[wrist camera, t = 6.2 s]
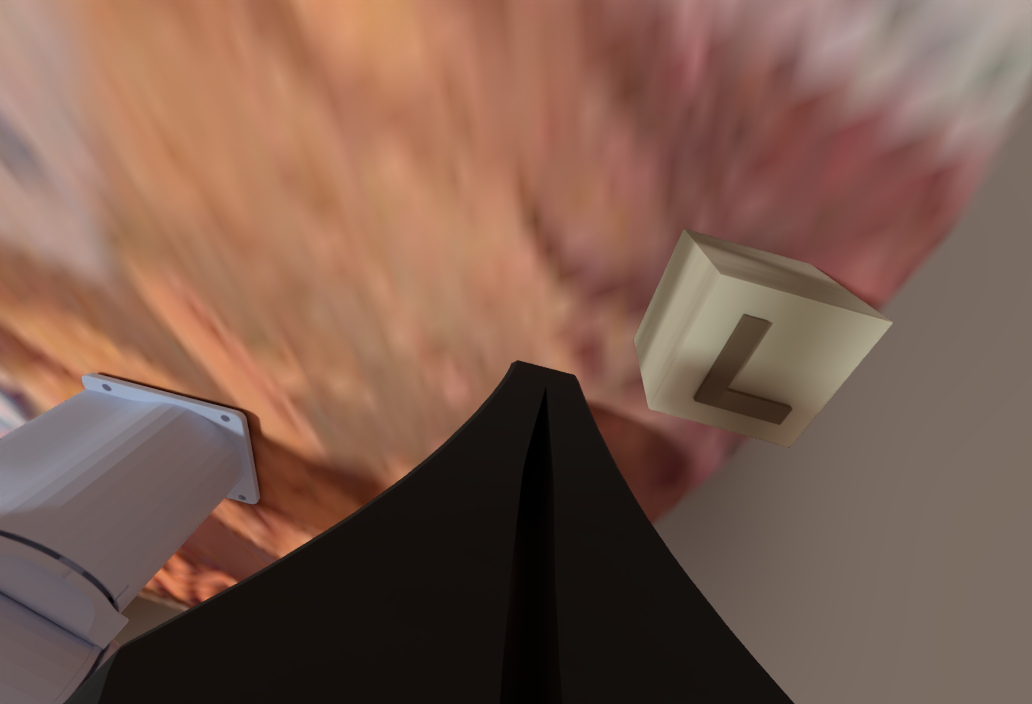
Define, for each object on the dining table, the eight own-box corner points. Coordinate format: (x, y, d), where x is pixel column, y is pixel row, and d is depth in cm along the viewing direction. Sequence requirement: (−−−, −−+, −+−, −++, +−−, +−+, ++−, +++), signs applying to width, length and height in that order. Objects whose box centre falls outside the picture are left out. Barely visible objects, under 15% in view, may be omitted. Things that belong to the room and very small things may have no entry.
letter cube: (633, 338, 18) (649, 412, 14) (683, 228, 16) (723, 276, 11) (742, 368, 18) (792, 451, 14) (809, 263, 16) (897, 325, 11)
